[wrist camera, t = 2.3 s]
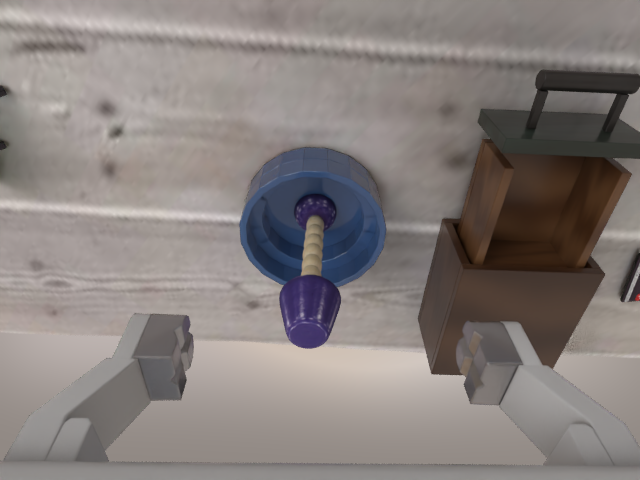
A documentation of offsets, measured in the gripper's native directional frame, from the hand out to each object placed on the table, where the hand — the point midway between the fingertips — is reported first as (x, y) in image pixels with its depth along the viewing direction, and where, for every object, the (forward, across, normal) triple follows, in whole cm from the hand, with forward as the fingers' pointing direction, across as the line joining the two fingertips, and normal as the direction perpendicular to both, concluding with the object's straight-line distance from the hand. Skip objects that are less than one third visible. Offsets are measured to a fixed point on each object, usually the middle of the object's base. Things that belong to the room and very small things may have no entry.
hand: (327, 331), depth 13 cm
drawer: (+27, -20, +7) cm, 34 cm away
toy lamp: (+28, 0, +13) cm, 31 cm away
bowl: (+29, 0, +13) cm, 31 cm away
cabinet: (+28, -20, +21) cm, 40 cm away
